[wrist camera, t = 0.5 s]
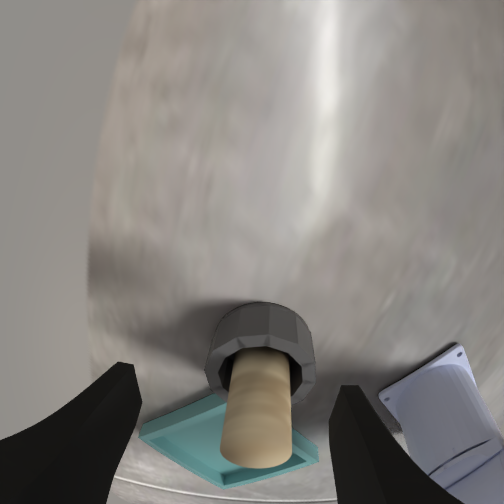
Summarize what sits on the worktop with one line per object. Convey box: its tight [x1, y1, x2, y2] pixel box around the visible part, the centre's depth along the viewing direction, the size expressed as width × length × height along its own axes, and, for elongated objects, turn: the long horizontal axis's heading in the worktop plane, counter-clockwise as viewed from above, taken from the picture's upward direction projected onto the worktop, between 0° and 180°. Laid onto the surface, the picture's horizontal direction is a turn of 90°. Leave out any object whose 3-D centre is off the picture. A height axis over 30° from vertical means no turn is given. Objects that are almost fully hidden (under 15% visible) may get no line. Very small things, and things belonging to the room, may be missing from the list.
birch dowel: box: [220, 346, 292, 468], centre depth 17 cm, size 4×4×8 cm
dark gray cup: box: [204, 302, 316, 405], centre depth 20 cm, size 7×7×4 cm
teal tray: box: [138, 393, 319, 489], centre depth 26 cm, size 12×12×2 cm
